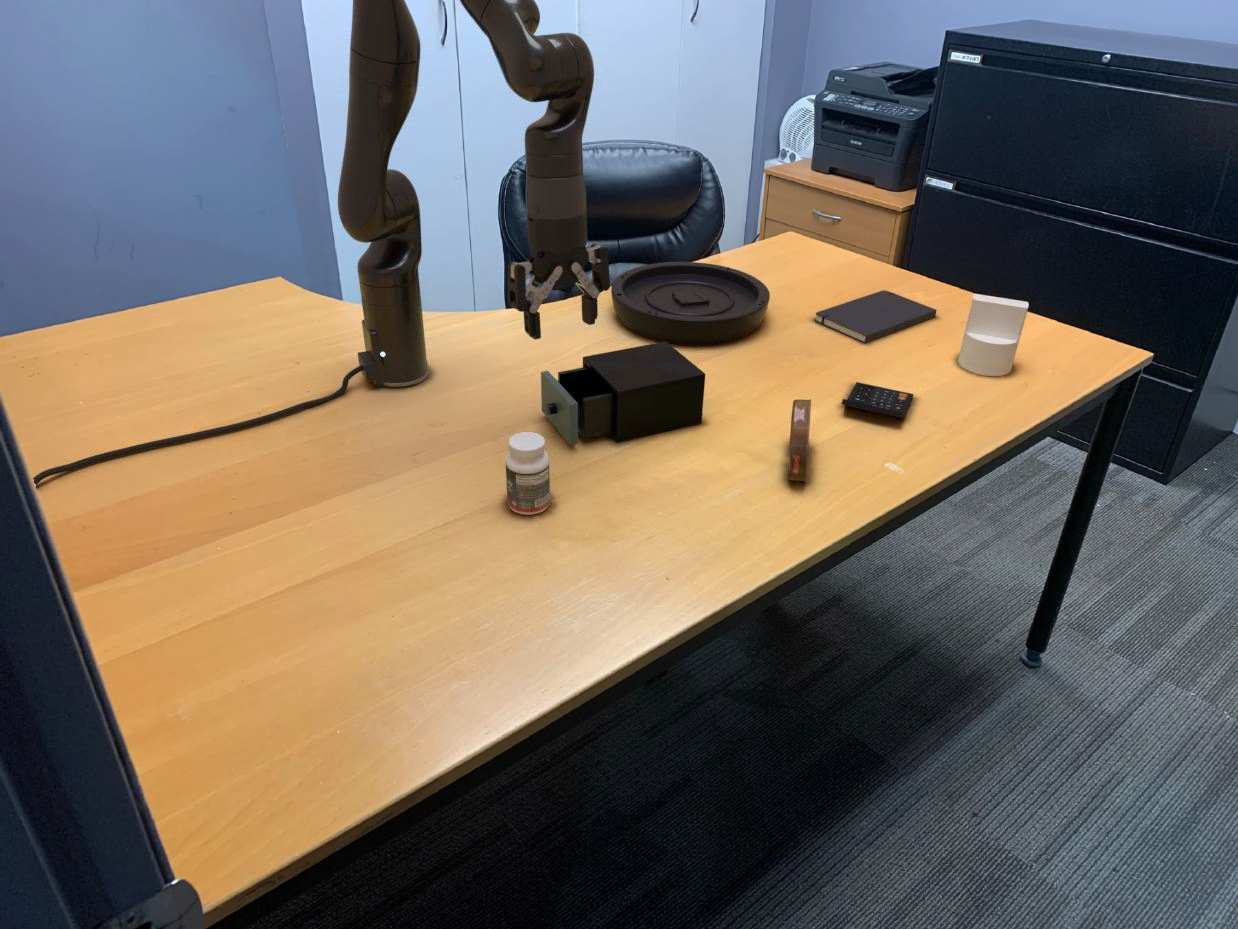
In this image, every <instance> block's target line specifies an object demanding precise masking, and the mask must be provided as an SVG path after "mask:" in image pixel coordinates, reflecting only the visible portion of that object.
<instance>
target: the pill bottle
mask: <svg viewBox="0 0 1238 929" xmlns="http://www.w3.org/2000/svg"><path fill="white" fill-rule="evenodd" d="M545 450H546V440H545V438H544V436H543V435H541V434H539V433H537V432H532V431H522V432H517V433H515V434H513V435H512V436H510V437H509V438H508V454H507V455H506V458H505V478H506V479H505V480H506V481H505V482H506V499H507V500H506V502H507V506H508V507H509V509H510V510H512V511H513V512H514V513H517V514H519V515H525V516H530V515H532V516H533V515H536V514H540V513H542V512H544V511H545V510H547V509H548V507H549V506H550V503H551V475H550V457H549V455H548V452H546V451H545Z"/></svg>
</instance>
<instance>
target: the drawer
mask: <svg viewBox="0 0 1238 929" xmlns="http://www.w3.org/2000/svg"><path fill="white" fill-rule="evenodd" d="M540 392H541V393H540V396H541V412H542V413H543V414H544V416H545V417H546V418H547V419H548V421H549V422H550V423H551V424H552V425H553V427H554V428H555V429H556V430H557V432H559V434H560V435H561V436H562V437H563V438H564V439H565V441H566V442H567V443H568V444H569V445H570V446H575V445H578V444H579V434H580V435H581V436H582V438H583V439H587V438H591V437H592V438H593V437H597V436H600V435H605V434H608V433H610V432H615V401H616V394H615V393H614V392H613V391H612V390H611V389H610V388H609V387H608V386H607V385H606V384H605V383H604V382H603V381H602V380H601V379H600V378H599V377H598V376H597V375H596V374H595V373H594V372H593V371H592V370H591V369H590V368H589V367H583V366H582V367H577V368H573V369H567V370H561V371H557V378H555V377H554V375H553V374H552V373H551V372H550V371H549V370H544V371H540Z"/></svg>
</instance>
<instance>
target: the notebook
mask: <svg viewBox="0 0 1238 929" xmlns="http://www.w3.org/2000/svg"><path fill="white" fill-rule="evenodd" d="M937 311H938V310H937V309H935V308H934V307H931V306H928V305H926V304H923V303H920V302H917V301H915V300H914V299H913V300H912V299H910V298H907V297H904V296H902V295H899V294H897V293H895V292H891V291H889V290H886V289H885V290H879V291H877V292H873V293H870V294H867V295H864V296H862V297H858V298H855V299H852V300H849V301H846V302H842V303H840V304H838V305H835V306H831V307H829V308H825V309H823V310H820V311H817V312H815V315H816V318H815V319H814V321H815V323H818V324H820V325H822V326H825V327H827V328H829V329H831V330H834V331H836V332H837V333H838V332H839V333H841V334H843V335H845V336H847V337H850V338H851V339H855V340H856V341H859V342H861V343H864V344H866V343H870V342H872V341H875V340H878V339H880V338H883V337H885V336H888V335H890V334H893V333H896V332H899V331H901V330H904V329H907V328H910V327H912V326H915V325H917V324H920V323H923V322H925V321H928V320H931V319H933V318H936V315H937Z"/></svg>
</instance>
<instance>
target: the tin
mask: <svg viewBox="0 0 1238 929" xmlns="http://www.w3.org/2000/svg"><path fill="white" fill-rule="evenodd" d="M811 411H812V399H811V398H810V399H794V400H793V401H792V410H791V418H790V433H789V450H788V451H789V457H788V468H787V479H788V481H795V482H796V481H798V482H804V483H807V476H808V475H807V474H808V473H807V470H808V459H809V458H808V457H809V444H810V430H811V427H810V426H811Z"/></svg>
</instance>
